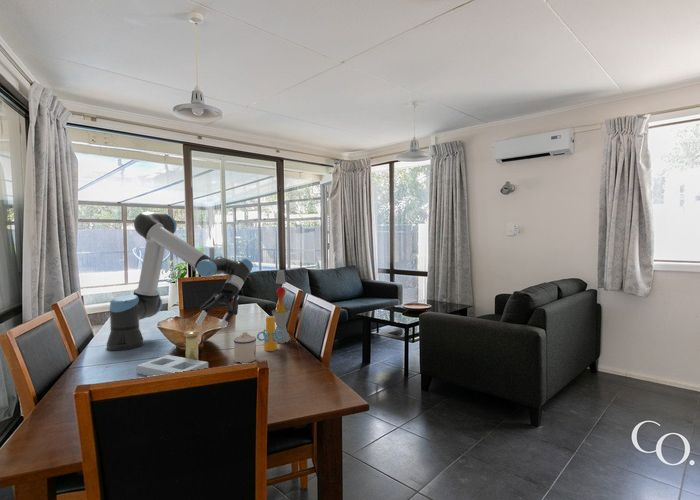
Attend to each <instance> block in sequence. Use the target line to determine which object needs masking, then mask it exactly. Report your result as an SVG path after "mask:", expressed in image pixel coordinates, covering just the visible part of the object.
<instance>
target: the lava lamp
mask: <svg viewBox="0 0 700 500" xmlns="http://www.w3.org/2000/svg"><path fill="white" fill-rule="evenodd" d="M275 278H276V280H275V284H278V285H279V284H280V285H282V284H286V283H287V282H286V281H287V280H286V277H285V272H284V270H279V269H278V270H277V272H276V277H275ZM276 294H277V298H278V302H277V303H276V304H275V307H276V309H273V310H271V314H272V316H275V329H276V331H277V330H282V331H283V332H284V336H283V338H281V339H278V341H277V344H286V343H289V342H290V341H291V338H290V336H289V333H288V330H287V327H286V325H287V322H288V319H289V316H290V313H291V310H290V309H287V308H286V309H285V307H284V306H285V305H284V297H285V294H286V289H285V288H284V287H282V286H281V287H278V288H277V289H276ZM277 333H278V336H279V337H281V336H282V332H277ZM276 336H277V335H276ZM276 339H277V338H276ZM289 340H290V341H289ZM288 341H289V342H288ZM285 342H286V343H285Z"/></svg>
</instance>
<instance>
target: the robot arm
mask: <svg viewBox="0 0 700 500" xmlns="http://www.w3.org/2000/svg"><path fill="white" fill-rule="evenodd" d="M133 227H134V230H135V231H136V233H138V235H140V236H141V237H142V238H144V240H145V241H146V243H145V248H144V255H143V258H142V265H141V270H140V275H139V281H138V286H137V288H135V289H134V291H133V294H125V295H121V296H119V295H118V296H117V297H114V298H112V299H111V300H110V304H109V317H110V319H109V322H110V333H109V335H108V339H107V341H106V350H108V351H126V350H133V349H136V348H139V347H141V346H144V343H145V341H144V337H143V334H142V332H141V329H140V320H143V319H146V318H150V317H151V318H152V317H153V316H155V315H157V314H159V312H160V311H161V310H162V307H163V299H162V297H161V296H160V294H161V293H160V291H159V290H158V287H159V281H160V276H161V272H162V271H161V270H162V266H163V260H164V253H165V250H167V251H168V252H169V253H171V254H173V255H174V256H176V257H177V258H179V259H180V260H183V262H185V263H186V264H188V265H190V266H191V267H192V268H194V269H196V272H197V274H198V275H199V276H201V277H206V278H208V277H209V278H210V277H213V276H217V275H221V274H223V275H227V276H228V277H227V279H226V281H225V282H224V284H223V286H222V287H221V290H220V291H221V292H220V293H219V294H218V293H216V292H214V293H213V294H212V295H211V297H210V298H209V299H207V300H206V301H204V302H203V304H202V305H200V307H199V309H200V311H201V312H200V313H199V314H198V316H197V318H196V320H195V324H196V325H197V326H198V327H200V326H201V325H202V323H203V321H204V320H205V318H206V316H207V315H208V313H209V312H210V311H211V310H213V309H215V308H216V307H217V306H220V305H226V308H227V312H226V313H225V314H224V316H223V318H222V319H221V321H220V323H219V325H218V326H219V327H220V328H221V329H222V330H223V329H224V328H225V327H226V325H228V322H230V320H231V319H232V317H233V316H237V315H238V312H239V301H240V299H241V297H240V296H239V292H240V291H241V289H242V287H243V285H244V284H245V282H246V280H247V278H248V277H249V275H250V274H251V271H252V270H253V268H254V265H253V262H251V261H250V259H248V258H240V259H238V261H237V260H232V259H229V258H226V257H222V256H218V255H214V256H212V257H209V256H208V255H206V254H205V253H203V252H202V251H201V250H199V249H198V248H196V247H194V246H193V245H192V244H190V243H188V242H186V241H185V240H184V239H182V238H180V237H179V236H177V235H176V234H175V233H176V231H177V228H178V225H177V221H176V220H175V218H174V217H173V216H172V215H170V214H169V213H165V212H157V211H155V212H154V211H143V212H140V213H139V214H138V215H137V216H136V217H135V219H134V220H133Z"/></svg>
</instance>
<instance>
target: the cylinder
mask: <svg viewBox="0 0 700 500" xmlns="http://www.w3.org/2000/svg"><path fill="white" fill-rule="evenodd" d="M277 332H282V336H281V337H279V336H278V333H277ZM260 334H262V336H263V338H260ZM276 335H277V336H276ZM283 336H284V332H283V331H282V330H277V331H276V323H275V316H273V315H268V316H266V317H265V329H263V331H259V332H257V335H256V340H259V342H263V350H264V351H266V352H274V351H276V350H277V349H278V343H277V341H278V339H281V338H283ZM276 338H277V339H276Z"/></svg>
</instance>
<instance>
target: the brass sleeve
mask: <svg viewBox="0 0 700 500" xmlns="http://www.w3.org/2000/svg"><path fill="white" fill-rule="evenodd" d="M200 333H201V332H200V330H189V331H184V332H183V337H185V358H188V359H194V360H199V336H200V335H201V334H200Z"/></svg>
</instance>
